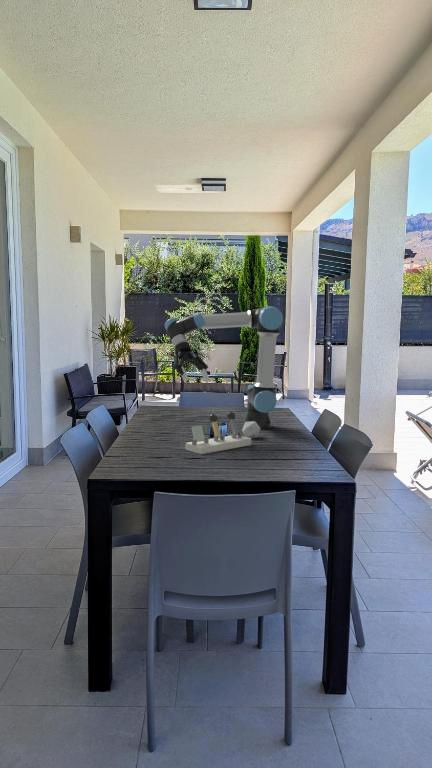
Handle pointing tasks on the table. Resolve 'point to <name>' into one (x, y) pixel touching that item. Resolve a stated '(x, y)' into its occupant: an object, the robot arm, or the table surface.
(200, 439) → the sage paddle
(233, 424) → the grey lever
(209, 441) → the panel
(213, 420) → the brass lever
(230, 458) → the table surface
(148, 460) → the table surface
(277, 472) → the table surface
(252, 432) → the die
